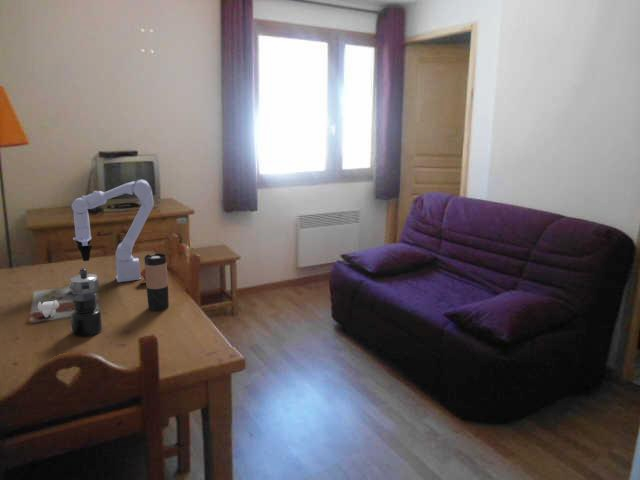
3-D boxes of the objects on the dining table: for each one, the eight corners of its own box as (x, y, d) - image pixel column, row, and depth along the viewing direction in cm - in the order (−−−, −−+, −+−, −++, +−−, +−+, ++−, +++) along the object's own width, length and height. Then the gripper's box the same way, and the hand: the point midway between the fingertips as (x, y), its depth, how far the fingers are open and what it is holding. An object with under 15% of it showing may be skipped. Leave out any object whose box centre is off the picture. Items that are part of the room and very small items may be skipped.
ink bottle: (95, 323, 173) (92, 290, 170) (108, 330, 167) (105, 296, 164) (66, 332, 165) (62, 298, 162) (79, 340, 160) (75, 305, 157)
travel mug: (163, 312, 183) (159, 259, 178) (144, 310, 184) (139, 258, 179) (173, 304, 190) (169, 254, 185) (154, 303, 192) (151, 252, 187)
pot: (96, 280, 216) (94, 269, 214) (100, 295, 199) (99, 283, 197) (70, 284, 211) (68, 272, 210) (72, 299, 194) (71, 287, 193)
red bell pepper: (143, 291, 210) (162, 276, 210) (131, 278, 209) (150, 263, 209) (147, 287, 217) (165, 273, 217) (136, 274, 216) (154, 260, 216)
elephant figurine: (36, 321, 174) (34, 305, 172) (42, 312, 181) (39, 297, 180) (57, 319, 175) (55, 303, 174) (62, 311, 183) (60, 295, 181)
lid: (97, 276, 208) (96, 264, 207) (97, 284, 200) (96, 271, 198) (71, 279, 205) (70, 267, 203) (70, 286, 196) (69, 274, 195)
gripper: (70, 224, 213) (74, 255, 216) (72, 231, 200) (76, 264, 204) (89, 223, 216) (92, 253, 219) (91, 230, 204) (95, 262, 207)
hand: (85, 258), depth 212 cm, fingers open, 7 cm apart
